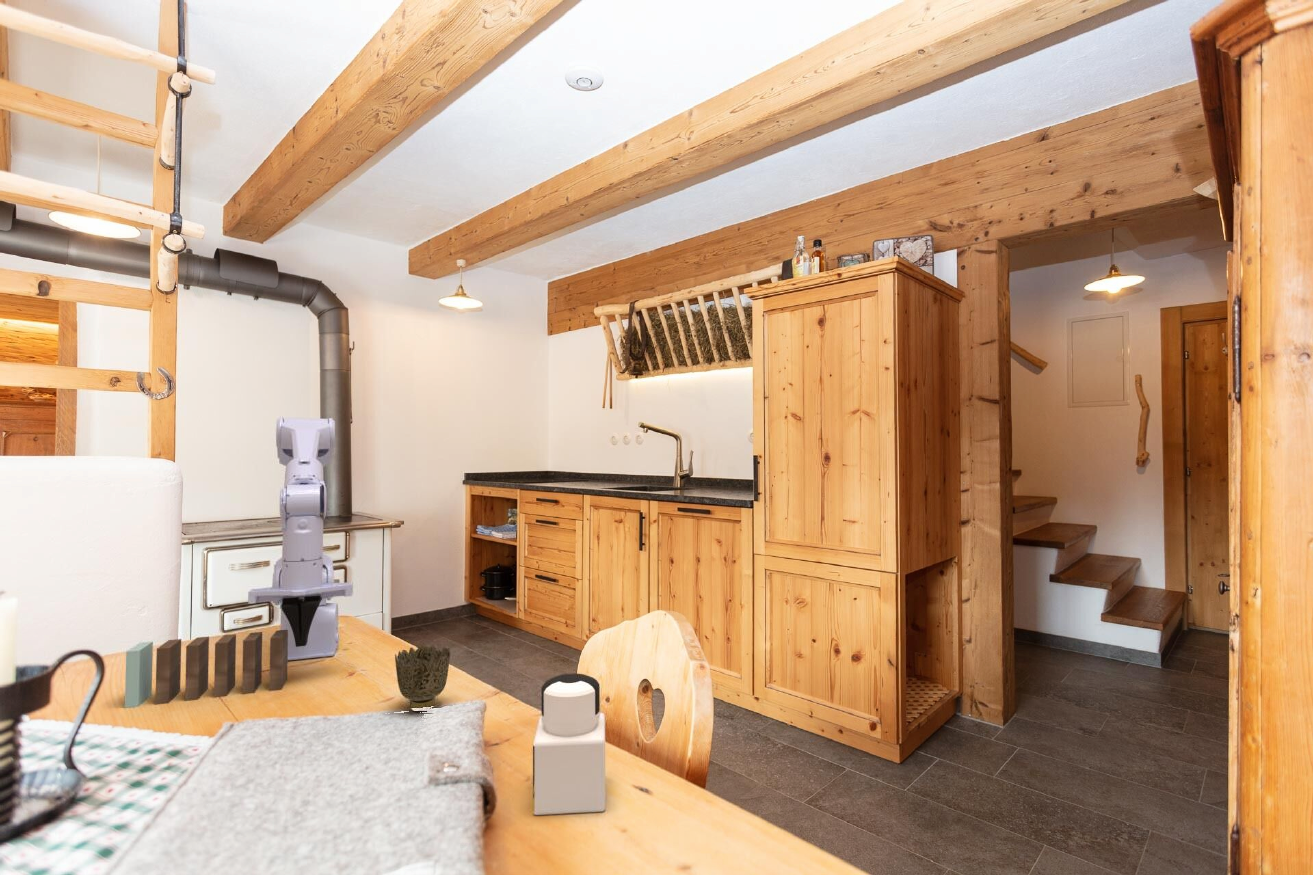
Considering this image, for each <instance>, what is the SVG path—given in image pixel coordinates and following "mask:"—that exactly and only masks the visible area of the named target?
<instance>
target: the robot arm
mask: <svg viewBox="0 0 1313 875" xmlns="http://www.w3.org/2000/svg"><path fill="white" fill-rule="evenodd" d="M275 424H276V428H275V429H276V430H275V441H276V442H275V444H276V445H275V446H276V448H277V449H276V451H277V458H278V460H279V461H278V462H279V464H280V465H283V466H284V467H285V470H284V471H285V472H284V486H283V488H282V487H281V488H280V492H279V517H280V520H281V532H282V544H281V545H282V548H281V555H282V557H280V558H279V559H277V560H276V562H275V564H274V565H273V573H272V584H271V585H272V586H271V587H262V588H252V589H250V590H248V593H247V594H248V598H247V599H248V600H247V601H248V602H247V604H248V605H250V604H252V605H253V604H257V603H267V602H268V603H269V602H272V603H273V604H274V606H279V610H280V627H279V628H280V629H279V630H288V661H294V660H295V661H296V660H304V659H305V660H306V659H312V658H313V659H315V658H324V657H332V656H334V655H335V654H336V651H337V648H338V646H339V643H340V633H339V604H338V602H327V601H331V600H332V599H333V598H334V597H352V596H353V594H354V592H353V591H354V586H353V585H354V583H353V582H335V576H334V574H335V572H334V561H333V560H332V557H331V556H330V555H328V554H326V553H325V552H324V520H325V519H326V515H327V498H328V497H327V493H328V492H327V487H326V484H325V481H324V467H326V466H328V465H330V464H332V463H333V462H332V461H333V458H334V451H335V450H334V448H335V442H336V441H335V439H336V433H335V431H336V422H335V420H334V419H333V418H332V417H329V418H309V417H306V418H303V417H284V416H280V417H279V418H277V419H276V423H275ZM320 514H322V515H323V518H322V517H321V516H320Z"/></svg>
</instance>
